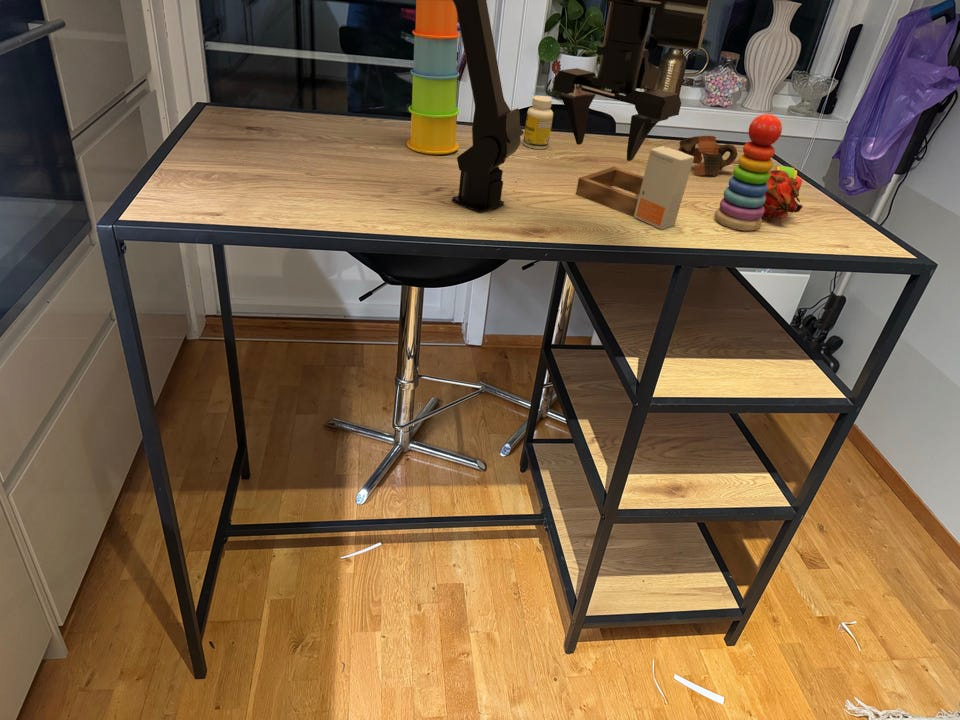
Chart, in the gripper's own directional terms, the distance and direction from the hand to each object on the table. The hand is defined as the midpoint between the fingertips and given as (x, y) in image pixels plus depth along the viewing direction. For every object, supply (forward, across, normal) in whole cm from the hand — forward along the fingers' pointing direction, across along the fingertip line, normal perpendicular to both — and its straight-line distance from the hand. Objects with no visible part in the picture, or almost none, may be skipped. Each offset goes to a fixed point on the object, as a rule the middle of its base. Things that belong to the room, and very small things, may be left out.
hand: (603, 152), depth 107 cm
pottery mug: (+14, +6, -50) cm, 52 cm away
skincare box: (+13, -4, -14) cm, 20 cm away
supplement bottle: (+12, +34, -28) cm, 46 cm away
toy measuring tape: (+14, -10, -50) cm, 53 cm away
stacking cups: (+12, +44, -7) cm, 46 cm away
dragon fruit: (+14, -14, -37) cm, 42 cm away
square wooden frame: (+13, +6, -22) cm, 27 cm away
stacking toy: (+14, -13, -27) cm, 33 cm away
